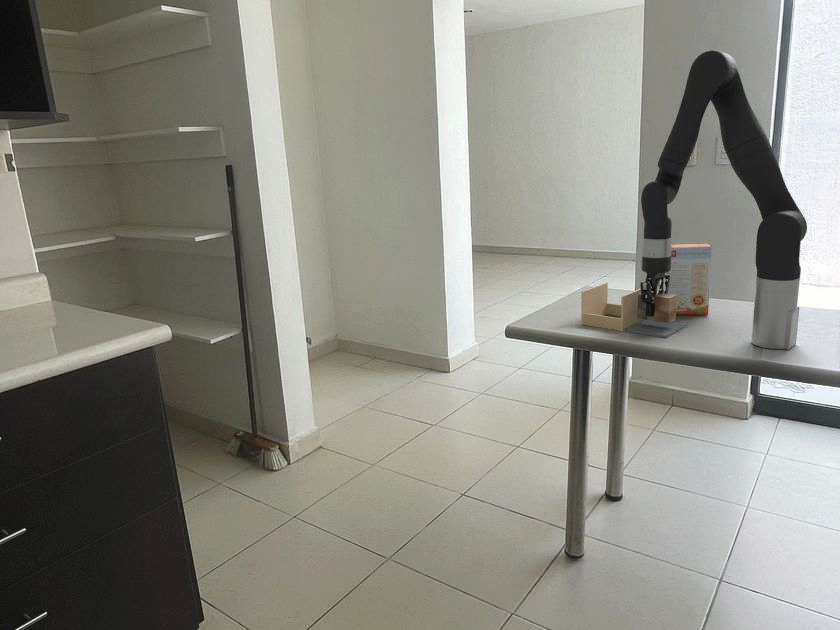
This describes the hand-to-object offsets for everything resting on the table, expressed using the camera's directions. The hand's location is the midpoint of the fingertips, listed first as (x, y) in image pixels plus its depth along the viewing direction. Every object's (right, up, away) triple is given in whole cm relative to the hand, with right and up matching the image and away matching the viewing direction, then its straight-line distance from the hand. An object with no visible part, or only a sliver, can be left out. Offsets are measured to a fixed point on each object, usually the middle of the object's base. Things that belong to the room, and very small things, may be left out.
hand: (654, 313), depth 171 cm
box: (+1, -1, 0) cm, 2 cm away
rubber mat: (+1, -4, +1) cm, 4 cm away
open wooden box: (-8, -2, +10) cm, 13 cm away
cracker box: (+14, 0, +15) cm, 20 cm away
